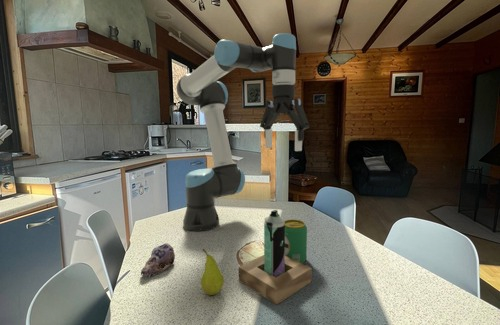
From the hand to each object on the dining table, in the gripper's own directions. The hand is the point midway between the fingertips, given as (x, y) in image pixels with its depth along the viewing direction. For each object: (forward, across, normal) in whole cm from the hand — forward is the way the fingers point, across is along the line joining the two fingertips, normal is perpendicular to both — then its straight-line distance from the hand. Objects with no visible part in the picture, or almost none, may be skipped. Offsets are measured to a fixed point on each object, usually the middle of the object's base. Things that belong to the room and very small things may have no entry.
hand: (282, 149), depth 93 cm
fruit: (+34, +8, -35) cm, 49 cm away
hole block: (+34, +15, -19) cm, 41 cm away
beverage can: (+34, +11, -6) cm, 36 cm away
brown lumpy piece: (+34, -13, -41) cm, 55 cm away
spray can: (+34, +15, -19) cm, 42 cm away
